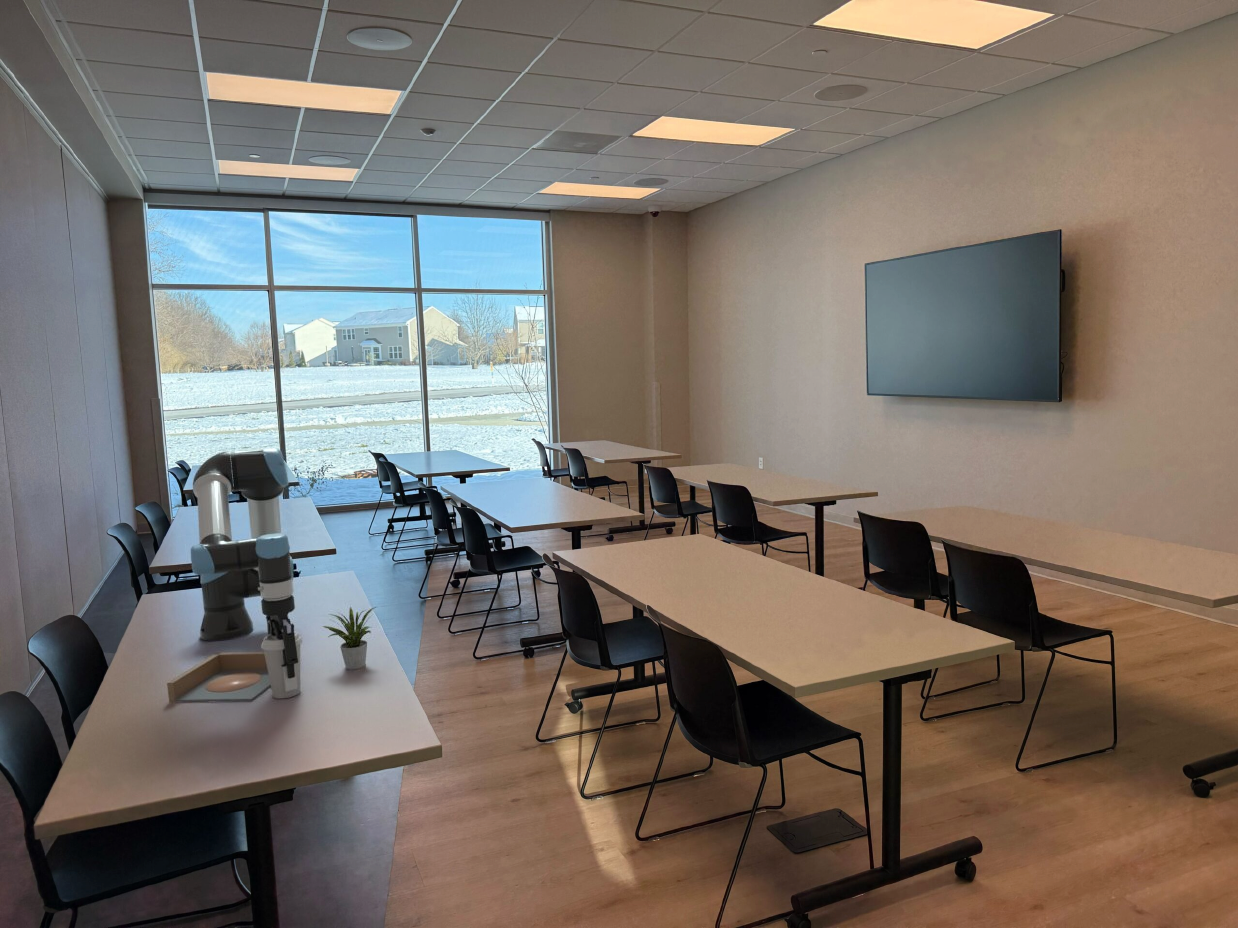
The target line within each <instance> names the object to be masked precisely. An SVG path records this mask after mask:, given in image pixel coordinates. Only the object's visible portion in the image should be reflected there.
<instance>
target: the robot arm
mask: <svg viewBox="0 0 1238 928" xmlns="http://www.w3.org/2000/svg"><path fill="white" fill-rule="evenodd" d="M289 484H290V483H289V478H288V474H287V469H286V464H285V460H284V455H283V453H282V450H280V449H278V448H276V447H275V448H272V447H271V448H266V447H264V448H261V449H259V448H258V449H249V450H233V451H222V452H219V453H216V454H214V455H212V456H211V457H209V458H208V459H206V461H205V462H203V463H202V464H201V465H200V466H199V468H198V469H197V470H196V473H195V475H194V477H193V481H192V492H193V494H194V496H195V497H196V498H197V513H198V515H197V516H198V536H199V538H198V539H199V540H198V541H199V544H197V545H193V546H191V548H190V560H191V561H190V562H191V569H192V572H193V574H194V575H197V576H200V584H201V592H202V605H203V617H202V622H201V625H200V630H199V635H200V639H201V640H204V641H209V642H213V641H214V642H216V641H217V642H218V641H226V640H232V639H236V638H240V637H243V636H246V635H248V634H250V633H251V632H253V630H254V624H253V621H252V619H251V616H250V614H249V612H248V610H247V609H246V605H245V599H248V598H257V597H261V598H262V599H261V602H260V603H261V611H262V614H263V615H264V616H265V619H266V624H267V626H266V628H267V635H269V634H271V635H272V636H276V638H277V639H279V640H283V642H284V649H283V660H284V664H283V665H281V666H282V667H283V672H284V683H285V691H286V692H287V691H290V690H294V689H297V679H296V668H295V664H296V663H298V657H297V649H296V642H295V635H294V631H295V624H294V623H291V619H290V618H289V616H288V615H289V614H290V613H292V612H293V611H294V610H295V609H296V605H295V597H294V595H293V594H294V560H293V558H292V556H291V554H290V550H291V547H290V544H289V538H288V535H287V534H284V533H282V529H281V528H282V526H281V512H280V511H281V510H280V499H279V498H280V497H281V495H282V494H283V492H284V488H286V487H288V486H289ZM231 492H241V495H242V496H243V497H244V498H245V499H247V506H248V516H249V527H250V528H249V529H250V538H247V539H246V538H245V539H240V540H239V539H237V540H233V538H232V525H231V514H230V503H229V495H230V494H231ZM282 634H283V635H282ZM291 659H292V660H291Z"/></svg>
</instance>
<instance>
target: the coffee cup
mask: <svg viewBox="0 0 1238 928" xmlns="http://www.w3.org/2000/svg"><path fill="white" fill-rule="evenodd" d="M282 635H283V634H282ZM294 635H295V642H296V649H297V657H298V663H296V664H295V668H296V679H297V689H294V690H290V691H287V692H286V691H285V683H284V672H283V667H282V666H281V665H283V664H284V660H283V649H284V642H283V640H279V639H277V638H276V636H272V635H271V634H269V635H268V634H267V635H265V636H264V637H263V641H262V642H261V646H260V648H261V649H262V650H263V652H264V654H265V659H266V664H267V669H268V674H269V679H270V685H271V687H270V690H271V695H272V697H273V698H275V699H288V698H292V697H295V696H297V695H299V694H300V693H301V644H302V643H303V639H302V638H303V637H301V636H300V634H299V632H298V631H296V630H294ZM291 660H292V659H291Z"/></svg>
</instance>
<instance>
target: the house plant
mask: <svg viewBox="0 0 1238 928" xmlns="http://www.w3.org/2000/svg"><path fill="white" fill-rule="evenodd" d="M374 609H377V606H376V607H372V608H369V610H368V611H367V609H364V610H362V611H361V612H360V613H359V612H358V611H357V612H356V614H355V617H354V611H353V609H352V607H351V606H350V607H349V611H348V613H349V615H348V618H347V617H346V616H345V615H343V614H342V613H340V612H338V614H340V615H341V616H342V617H341V616H339V615H336V614H331V613H329V614H328V615H330V616H332V617H333V618H334V619H337V620H338V621H340V622H341V625H340V627H341V628H342V629H343V630H345V631H346V632H344V631H343V630H341V629H339V628H335V627H333V626H327V625H325V626H324V625H323V626H322V627H323V628H325V629H328V630H329V631H331V632H332V634H330V635H328V638H330V637H331V636H332V637H333V636H339V637H340V638H342V639H343V640H344V642H343V643H341V644H340V645H339V646H340V652H341V655H342V659H343V662H344V666H345V669H346V668H347V670H359V669H362V668H364V667H365V666H366V662H367V649H368V641H367V640H365V639H362V638H363V637H364V636H365V635H367V634H368V633H370V635H371V634H372V631H371V630H369V629H371V626H365V625H366V623H367V622H368V620H369V619H370V618H371V616H372V615H371V616H369V617H368V615H369V614H370V613H371V612H372V611H373V610H374ZM366 611H367V612H366ZM363 612H366V613H365V614H364V615H363V616H362V618H361V621H360V622H359V619H360V617H361V615H362V613H363ZM367 617H368V618H367ZM366 618H367V620H366ZM344 619H345V620H344ZM348 619H349V620H348ZM365 620H366V621H365ZM330 621H332V622H334V623H336V624H337V625H339V623H338V622H336V621H334V620H332V619H330ZM358 622H359V623H358Z"/></svg>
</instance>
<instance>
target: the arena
mask: <svg viewBox="0 0 1238 928" xmlns="http://www.w3.org/2000/svg"><path fill="white" fill-rule="evenodd" d="M166 685H167V696H168V702H169V703H200V702H201V703H202V702H203V703H204V702H206V703H208V702H209V701H211V703H212V701H224V702H253V701H254V700H256V699H257V698H258V697H259V696H260V695H262V694H263V693H265V692H267V690H269V689H271V685H270V679H269V674H268V669H267V664H266V659H265V654H264V651H249V652H248V651H246V652H245V651H243V652H237V651H235V652H215V653H214V654H212V655H210V656H209V657H207V658H205V659H204V660H202V661H200V662H199V663H198V664H196V665H194V666H192V667H191V668H188V670H186V671H185V672H183V673H181V674H179V675H178V676H176V677H174V678H173V679H170V680H169V681H168V682H166Z"/></svg>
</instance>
